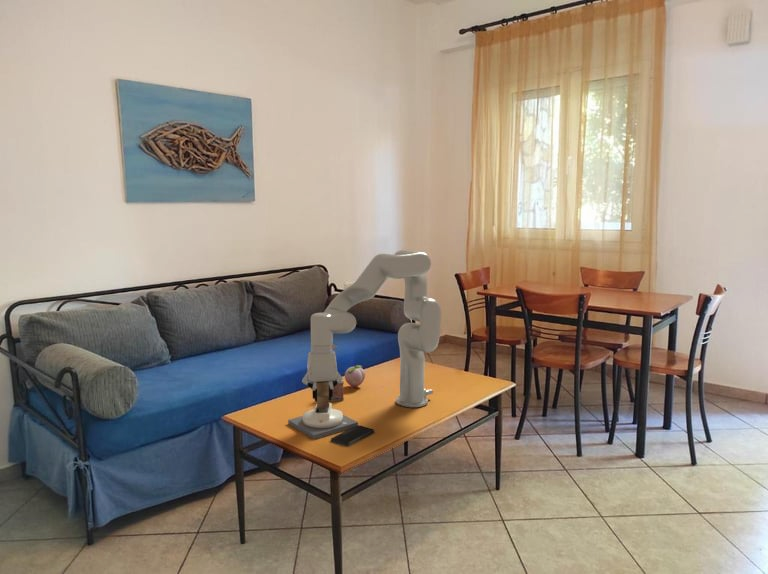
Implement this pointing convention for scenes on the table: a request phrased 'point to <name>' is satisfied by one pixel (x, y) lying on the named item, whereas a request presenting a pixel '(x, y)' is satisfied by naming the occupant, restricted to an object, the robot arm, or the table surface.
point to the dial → (322, 418)
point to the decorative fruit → (355, 375)
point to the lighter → (338, 392)
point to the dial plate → (321, 432)
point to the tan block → (322, 396)
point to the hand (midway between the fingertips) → (322, 399)
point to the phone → (352, 435)
